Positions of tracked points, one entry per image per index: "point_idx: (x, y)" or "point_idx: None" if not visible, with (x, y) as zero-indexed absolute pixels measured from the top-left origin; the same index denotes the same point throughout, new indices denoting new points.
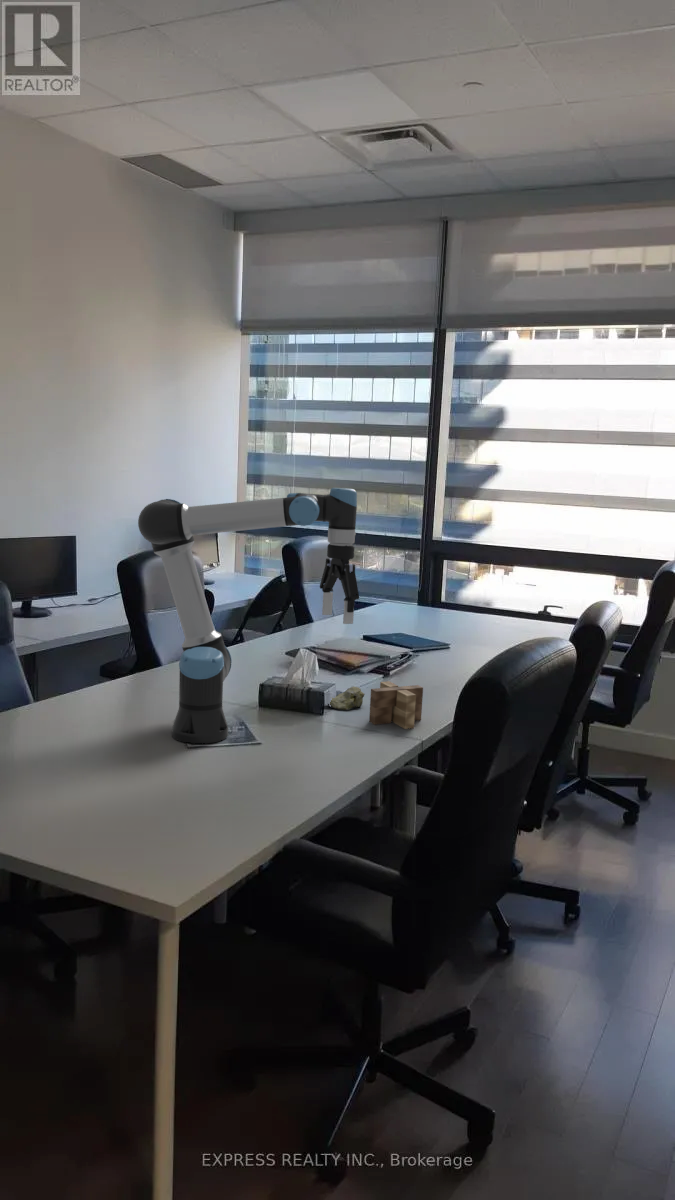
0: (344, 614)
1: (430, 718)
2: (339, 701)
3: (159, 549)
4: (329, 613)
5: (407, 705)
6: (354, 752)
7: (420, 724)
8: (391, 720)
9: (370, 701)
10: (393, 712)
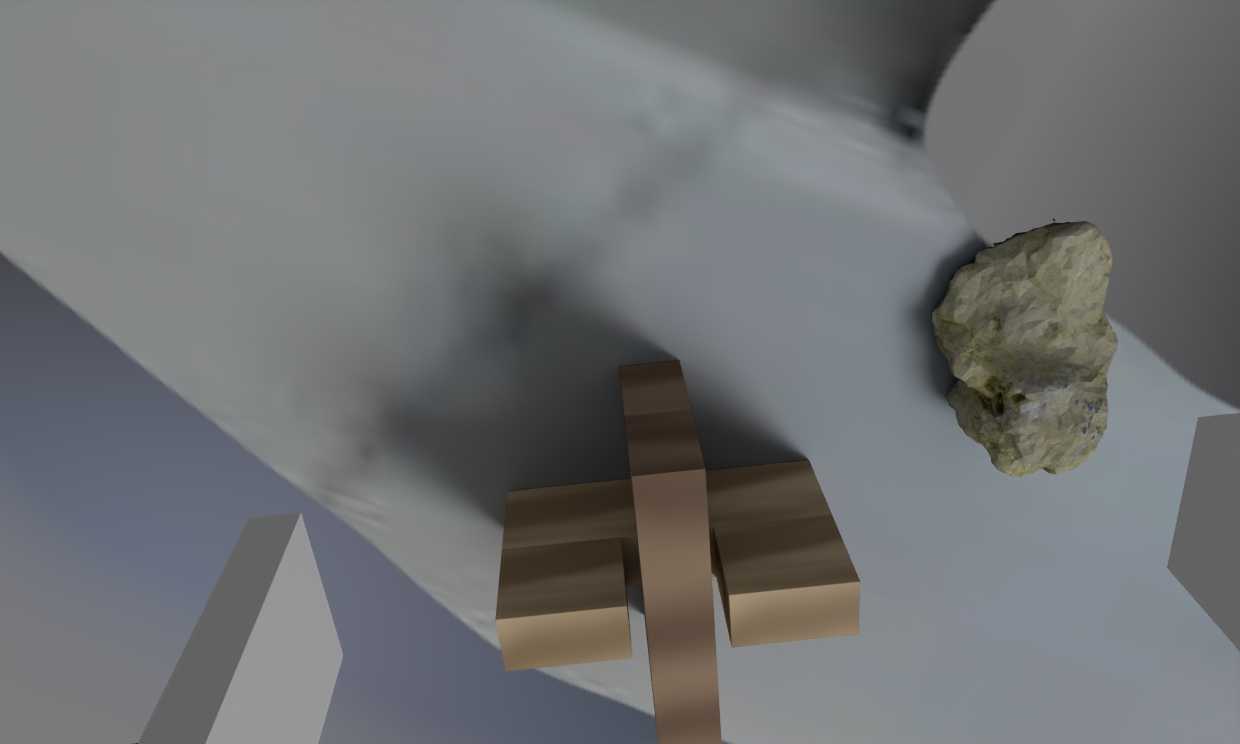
0: (195, 646)
1: None
2: (1015, 302)
3: None
4: (1189, 543)
5: (500, 582)
6: (101, 63)
7: None
8: None
9: (690, 422)
10: None
